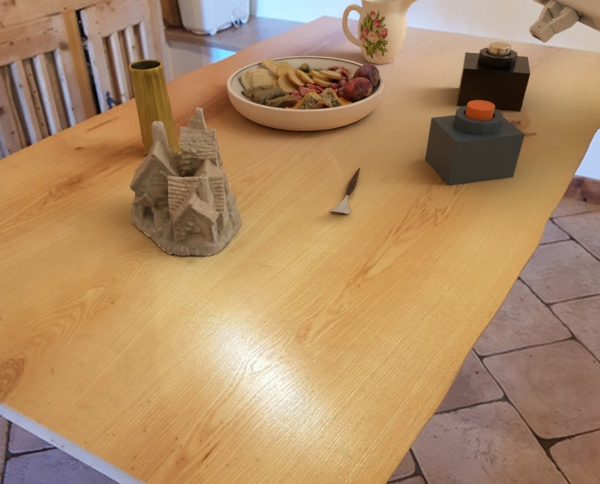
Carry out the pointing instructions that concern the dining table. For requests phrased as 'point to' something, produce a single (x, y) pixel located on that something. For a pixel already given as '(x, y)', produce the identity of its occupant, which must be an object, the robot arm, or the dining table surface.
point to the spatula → (344, 206)
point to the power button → (499, 49)
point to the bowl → (305, 92)
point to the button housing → (473, 148)
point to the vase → (152, 101)
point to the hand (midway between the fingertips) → (536, 36)
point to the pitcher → (379, 28)
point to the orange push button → (480, 110)
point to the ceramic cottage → (185, 192)
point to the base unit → (494, 79)
